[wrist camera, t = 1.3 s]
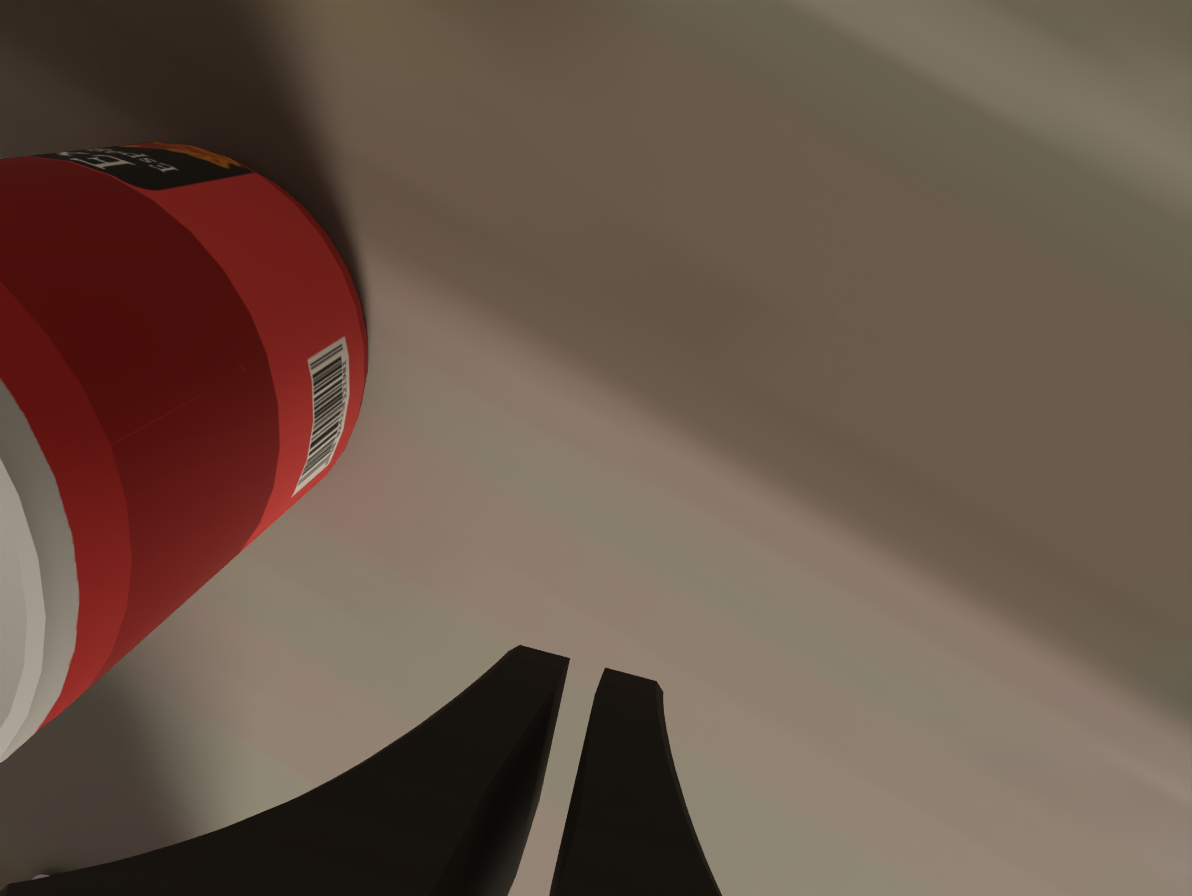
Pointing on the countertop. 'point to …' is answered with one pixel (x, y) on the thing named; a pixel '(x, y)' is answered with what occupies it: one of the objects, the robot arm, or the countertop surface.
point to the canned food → (151, 396)
